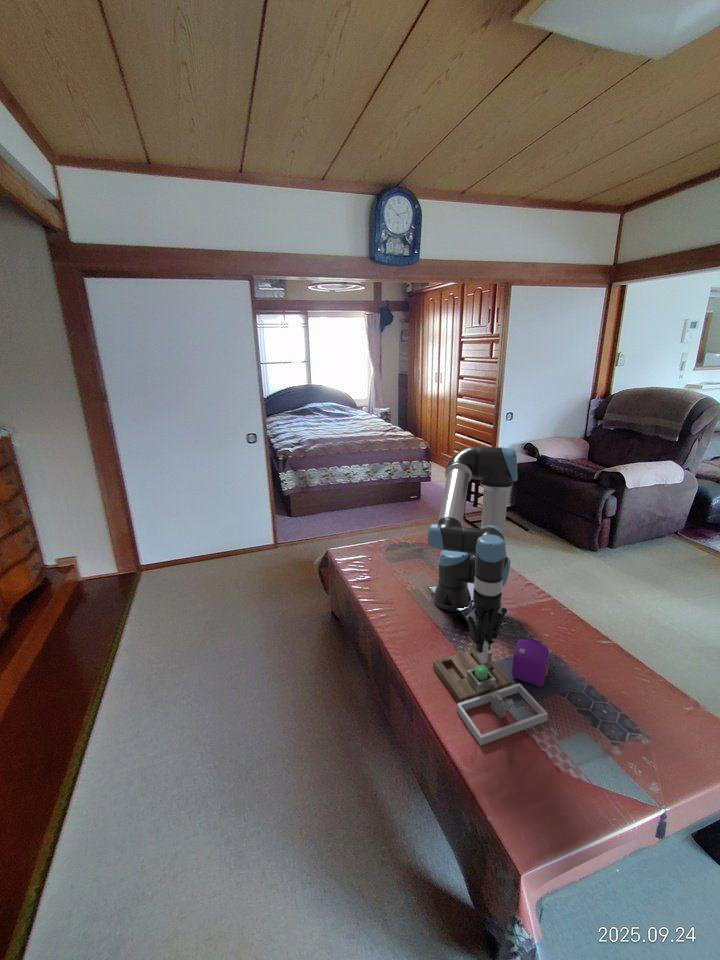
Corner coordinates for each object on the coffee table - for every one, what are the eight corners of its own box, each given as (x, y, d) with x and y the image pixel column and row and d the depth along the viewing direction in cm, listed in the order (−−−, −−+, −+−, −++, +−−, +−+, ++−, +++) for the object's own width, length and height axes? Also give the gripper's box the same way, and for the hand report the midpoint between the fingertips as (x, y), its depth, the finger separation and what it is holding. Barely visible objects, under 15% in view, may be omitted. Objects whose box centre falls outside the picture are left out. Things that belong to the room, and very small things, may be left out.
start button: (482, 672, 125) (483, 663, 124) (489, 681, 122) (490, 671, 120) (472, 676, 124) (472, 666, 123) (479, 684, 120) (480, 675, 119)
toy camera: (545, 659, 135) (549, 634, 132) (549, 691, 123) (553, 663, 120) (511, 652, 138) (513, 628, 135) (511, 682, 126) (514, 656, 123)
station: (480, 653, 138) (481, 632, 136) (511, 688, 124) (513, 665, 121) (433, 667, 133) (433, 645, 130) (459, 705, 118) (461, 682, 116)
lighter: (490, 707, 118) (492, 685, 115) (494, 705, 118) (496, 683, 116) (507, 726, 111) (509, 703, 109) (512, 724, 112) (514, 701, 110)
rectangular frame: (518, 689, 123) (519, 683, 123) (547, 720, 113) (548, 713, 112) (456, 710, 117) (456, 703, 116) (480, 745, 106) (480, 738, 106)
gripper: (498, 578, 119) (493, 646, 126) (459, 587, 115) (456, 656, 122) (516, 591, 112) (509, 662, 119) (475, 601, 108) (470, 674, 115)
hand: (482, 659), depth 120 cm, fingers closed
